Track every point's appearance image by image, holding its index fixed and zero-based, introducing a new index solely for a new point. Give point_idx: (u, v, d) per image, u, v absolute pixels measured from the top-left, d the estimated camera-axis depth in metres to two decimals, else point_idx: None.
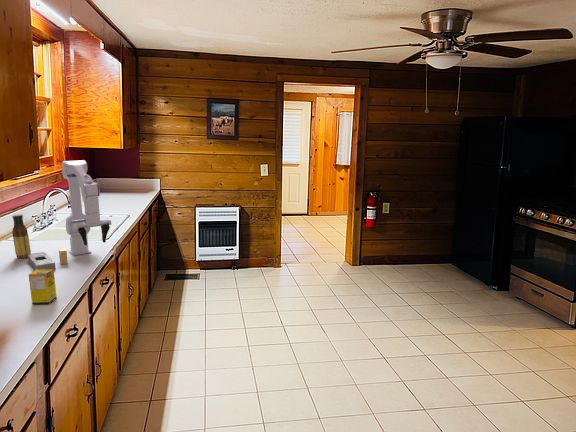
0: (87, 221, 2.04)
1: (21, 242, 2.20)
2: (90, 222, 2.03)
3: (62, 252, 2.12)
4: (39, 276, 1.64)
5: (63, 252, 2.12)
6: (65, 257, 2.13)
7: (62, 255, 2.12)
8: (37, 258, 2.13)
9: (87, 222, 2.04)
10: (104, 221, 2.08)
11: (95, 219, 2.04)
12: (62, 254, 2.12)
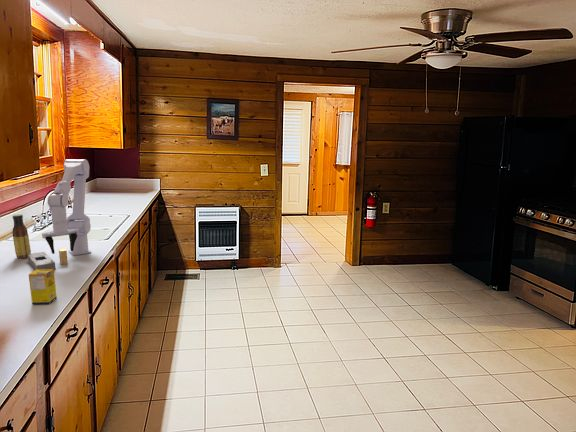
0: (54, 230, 2.09)
1: (21, 242, 2.20)
2: (57, 231, 2.09)
3: (62, 252, 2.12)
4: (39, 276, 1.64)
5: (63, 252, 2.12)
6: (65, 257, 2.13)
7: (62, 255, 2.12)
8: (37, 258, 2.13)
9: (54, 231, 2.09)
10: (72, 230, 2.14)
11: (62, 229, 2.09)
12: (62, 254, 2.12)
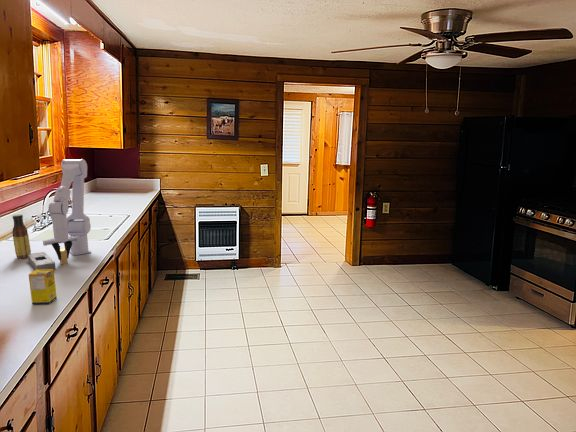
0: (55, 237, 2.10)
1: (21, 242, 2.20)
2: (58, 238, 2.10)
3: (62, 252, 2.12)
4: (39, 276, 1.64)
5: (63, 252, 2.12)
6: (65, 257, 2.13)
7: (62, 255, 2.12)
8: (37, 258, 2.13)
9: (55, 238, 2.10)
10: (72, 237, 2.15)
11: (63, 236, 2.10)
12: (62, 254, 2.12)
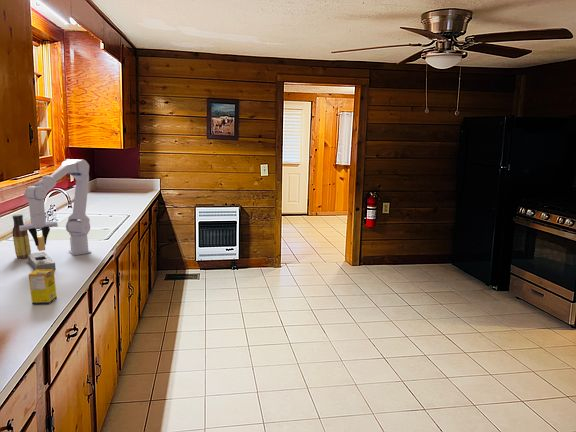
0: (32, 223, 2.06)
1: (21, 242, 2.20)
2: (35, 224, 2.06)
3: (39, 238, 2.08)
4: (39, 276, 1.64)
5: (40, 238, 2.08)
6: (42, 243, 2.09)
7: (39, 241, 2.08)
8: (37, 258, 2.13)
9: (32, 224, 2.06)
10: (50, 223, 2.11)
11: (40, 221, 2.06)
12: (40, 240, 2.08)
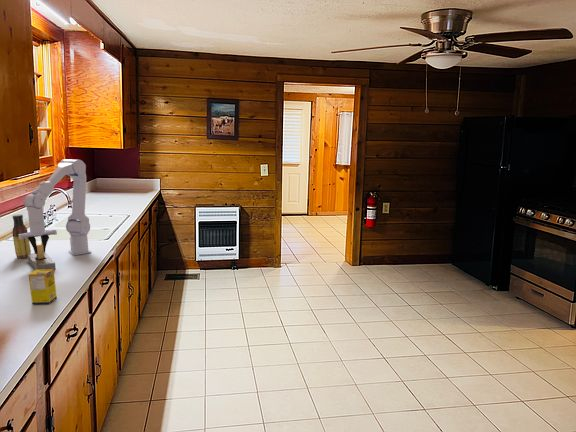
0: (31, 231, 2.06)
1: (21, 242, 2.20)
2: (34, 232, 2.06)
3: (38, 246, 2.08)
4: (39, 276, 1.64)
5: (39, 246, 2.09)
6: (41, 251, 2.09)
7: (38, 249, 2.08)
8: (37, 258, 2.13)
9: (31, 232, 2.07)
10: (49, 231, 2.11)
11: (39, 229, 2.07)
12: (39, 248, 2.08)
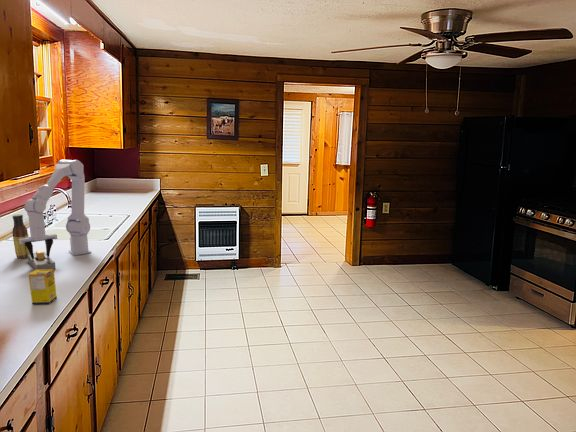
0: (32, 236, 2.07)
1: None
2: (34, 237, 2.07)
3: (39, 254, 2.09)
4: (39, 276, 1.64)
5: (40, 254, 2.09)
6: (42, 259, 2.10)
7: (39, 257, 2.09)
8: None
9: (32, 237, 2.07)
10: (50, 235, 2.12)
11: (40, 234, 2.07)
12: (40, 256, 2.09)
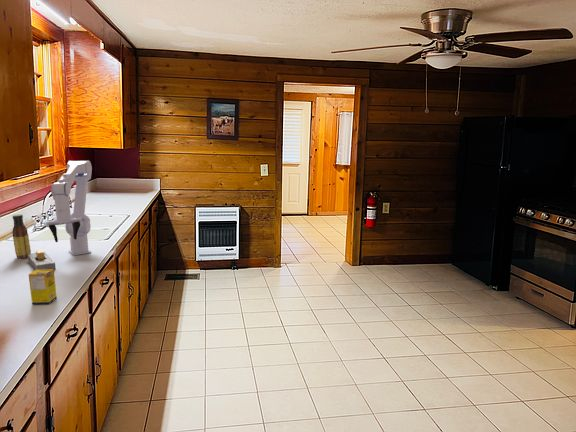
0: (57, 219, 2.10)
1: (21, 242, 2.20)
2: (60, 220, 2.10)
3: (39, 254, 2.09)
4: (39, 276, 1.64)
5: (40, 254, 2.09)
6: (42, 259, 2.10)
7: (39, 257, 2.09)
8: None
9: (58, 220, 2.10)
10: (75, 219, 2.15)
11: (66, 217, 2.10)
12: (40, 256, 2.09)
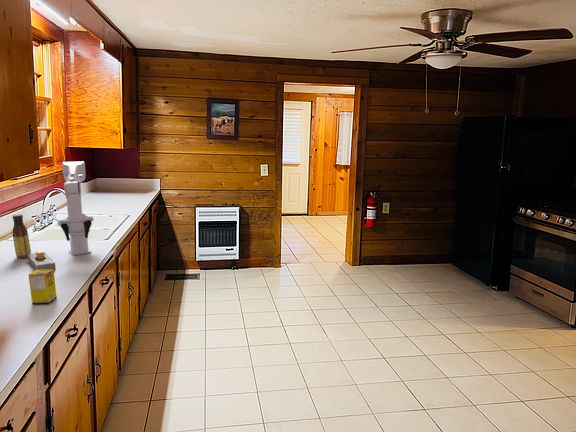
0: (69, 217, 2.12)
1: (21, 242, 2.20)
2: (72, 218, 2.12)
3: (39, 254, 2.09)
4: (39, 276, 1.64)
5: (40, 254, 2.09)
6: (42, 259, 2.10)
7: (39, 257, 2.09)
8: None
9: (69, 218, 2.12)
10: (86, 218, 2.17)
11: (77, 216, 2.12)
12: (40, 256, 2.09)
